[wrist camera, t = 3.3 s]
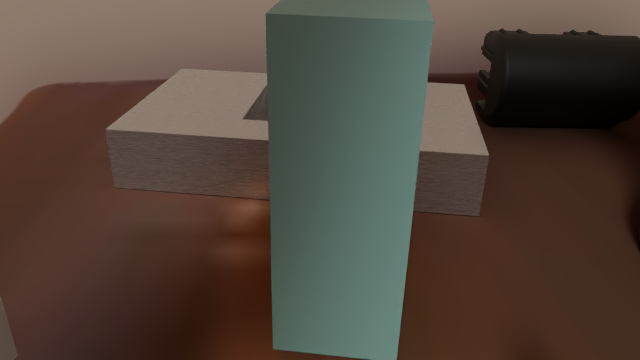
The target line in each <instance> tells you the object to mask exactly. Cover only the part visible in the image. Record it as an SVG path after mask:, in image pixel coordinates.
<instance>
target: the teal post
mask: <svg viewBox="0 0 640 360" xmlns="http://www.w3.org/2000/svg"><path fill="white" fill-rule="evenodd" d="M433 25H434V20H433V16H432V13H431V9H430V6H429V2H428V0H281V1H279V3H277V4H276V5H275V6H274V7H273V8H271V9H270V10H269V11H268V12H267V13H266V47H267V95H268V142H269V188H270V235H271V282H272V329H273V349H276V350H285V351H295V352H304V353H314V354H323V355H333V356H342V357H351V358H361V359H370V360H397V352H398V343H399V334H400V325H401V316H402V307H403V298H404V289H405V280H406V270H407V261H408V252H409V243H410V234H411V225H412V216H413V207H414V198H415V189H416V180H417V171H418V162H419V152H420V143H421V134H422V125H423V116H424V107H425V98H426V89H427V80H428V70H429V61H430V52H431V43H432V34H433Z"/></svg>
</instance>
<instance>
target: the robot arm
mask: <svg viewBox="0 0 640 360" xmlns="http://www.w3.org/2000/svg"><path fill="white" fill-rule="evenodd" d="M639 241H640V228H639ZM17 356H18V355H17V351H16V348H15V344H14V341H13V337H12V334H11V331H10V327H9V324H8V320H7V317H6V313H5V310H4V307H3V303H2V300H1V296H0V360H14V359H15V358H16V357H17Z"/></svg>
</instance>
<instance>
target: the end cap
mask: <svg viewBox="0 0 640 360" xmlns="http://www.w3.org/2000/svg"><path fill="white" fill-rule="evenodd" d="M481 49H482V50H483V52H482V54H483V55H484V56H485V57H486V58H487V59H488V60H490V61H491V63H492V64H491V70H490V75H489V74H488V73H487V72H486V71H485V70H480V71H479V75H478V76H477V79H478V89H479V90H480V91H481V92H482V93H483V95H484V96H485V97H486V100H478V101H477V105H476V109H477V110H478V112H479V113H480V114H481V116H482V117H483V118H484V119H485V121H486V122H487V123H488V124H489V125H491V126H541V127H605V128H611V127H614V126H616V125H618V124H619V123H620V122H623V121H627V120H629V119H631V118H633V117H634V116H635V115H636V114H637V113H638V112H639V110H640V38H638V37H637V36H607V35H605V36H604V35H601V34H598V33H595V32H593V31H588V32H576V31H574V30H572V31H570V32H564V33H563V35H555V34H529V33H528V32H526V31H522V30H521V29H518V30H517V31H505V30H504V29H500V30H499V31H490V32H489V33H487V34H486V36H485V39H484V45H483V46H482V47H481Z"/></svg>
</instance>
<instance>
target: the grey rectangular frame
mask: <svg viewBox="0 0 640 360" xmlns="http://www.w3.org/2000/svg"><path fill="white" fill-rule="evenodd" d="M106 135H107V141H108V148H109V154H110V160H111V166H112V172H113V179H114V185H115V188H128V189H140V190H153V191H166V192H178V193H191V194H204V195H216V196H229V197H242V198H254V199H267V200H270V188H269V142H268V95H267V73H249V72H231V71H213V70H196V69H181V70H180V71H179V72H178V73H176V74H175V75H174V76H172V77H171V78H170V79H168V80H167V81H166V82H165V83H163V84H162V85H161V86H160V87H158V88H157V89H156V90H155V91H153V92H152V93H151V94H149V95H148V96H147V97H146V98H144V99H143V100H142V101H141V102H139V103H138V104H137V105H136V106H134V107H133V108H132V109H131V110H129V111H128V112H127V113H125V114H124V115H123V116H122V117H120V118H119V119H118V120H117V121H115V122H114V123H113V124H112V125H110V126H109V127H108V128H107V129H106ZM488 160H489V153H488V151H487V148H486V145H485V142H484V139H483V136H482V134H481V131H480V128H479V125H478V122H477V120H476V117H475V114H474V111H473V108H472V105H471V103H470V100H469V97H468V94H467V91H466V88H465V86H464V84H446V83H428V82H427V89H426V98H425V107H424V116H423V125H422V134H421V143H420V152H419V162H418V171H417V180H416V189H415V198H414V207H413V211H419V212H431V213H444V214H457V215H469V216H479V212H480V206H481V200H482V195H483V189H484V183H485V177H486V171H487V165H488Z"/></svg>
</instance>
